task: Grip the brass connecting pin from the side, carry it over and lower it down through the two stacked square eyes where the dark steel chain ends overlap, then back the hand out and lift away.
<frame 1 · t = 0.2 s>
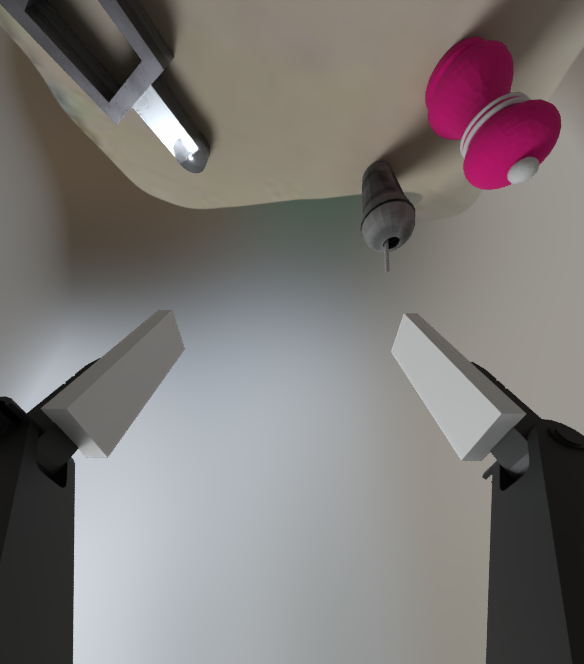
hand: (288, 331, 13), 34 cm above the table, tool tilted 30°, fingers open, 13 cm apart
pepper mill: (454, 79, 26), on the table
beverage cup: (376, 176, 36), on the table
chain end b: (103, 26, 23), on the table
chain end a: (103, 26, 23), on the table
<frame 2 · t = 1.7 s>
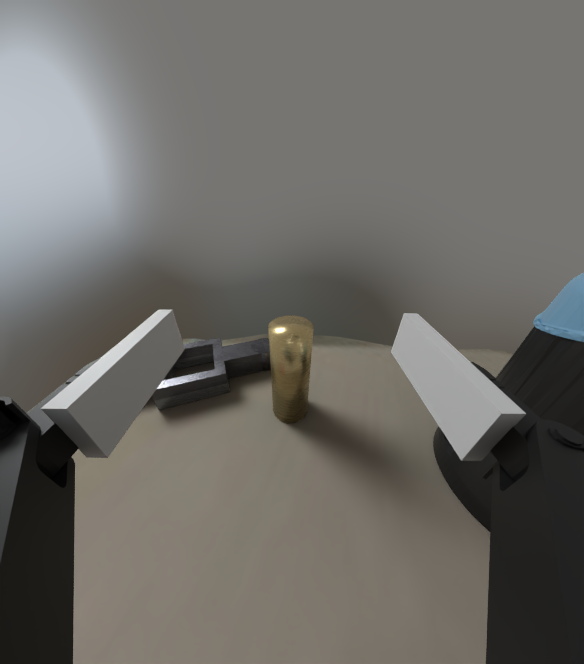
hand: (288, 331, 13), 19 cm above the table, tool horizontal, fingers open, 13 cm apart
chain end b: (196, 378, 36), on the table
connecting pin: (290, 407, 31), on the table
chain end a: (196, 378, 36), on the table
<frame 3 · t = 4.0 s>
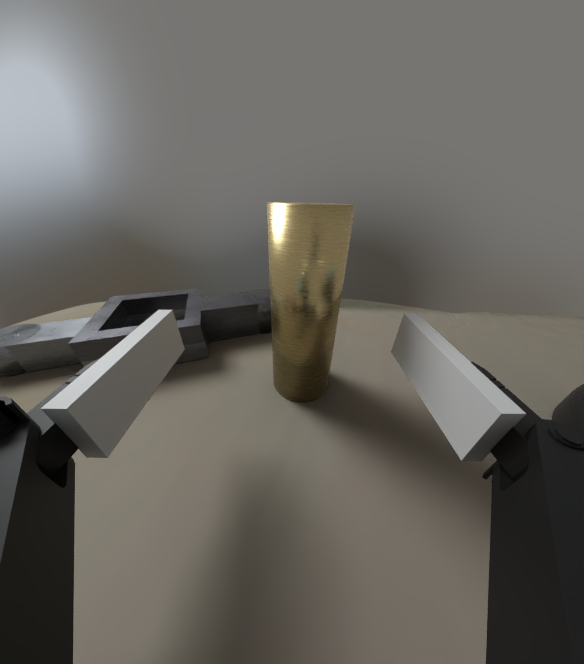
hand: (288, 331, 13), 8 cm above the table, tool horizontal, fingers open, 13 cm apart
chain end b: (162, 340, 25), on the table
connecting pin: (300, 379, 20), on the table
chain end a: (162, 340, 25), on the table
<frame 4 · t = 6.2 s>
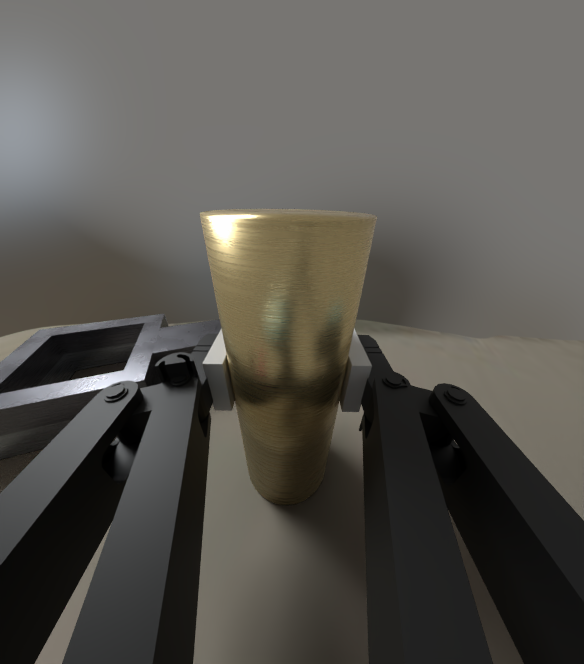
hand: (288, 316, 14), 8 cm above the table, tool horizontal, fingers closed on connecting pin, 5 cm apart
chain end b: (107, 387, 19), on the table
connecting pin: (286, 458, 14), on the table, touching gripper
chain end a: (107, 387, 19), on the table
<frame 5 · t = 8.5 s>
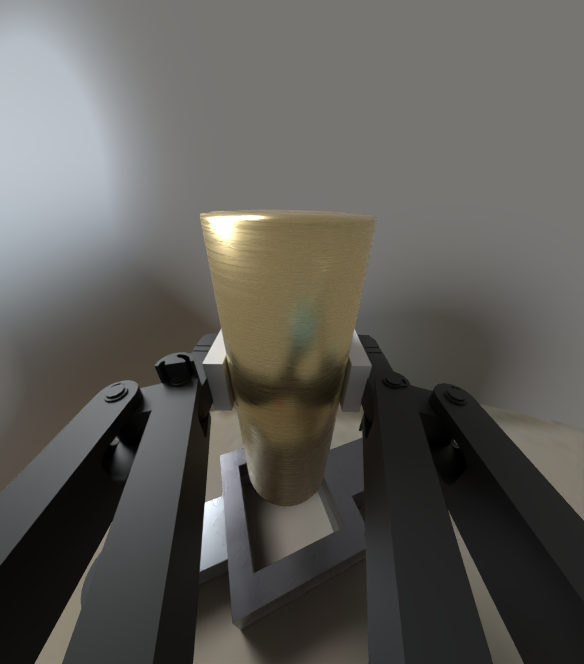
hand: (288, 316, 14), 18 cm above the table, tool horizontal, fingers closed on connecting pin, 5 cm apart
chain end b: (286, 512, 20), on the table
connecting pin: (287, 459, 14), point 10 cm above the table, touching gripper
chain end a: (286, 512, 20), on the table
when the fingers open (10 cm above the table, at t = 10.8 s): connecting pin drops 2 cm, resting in chain end a.
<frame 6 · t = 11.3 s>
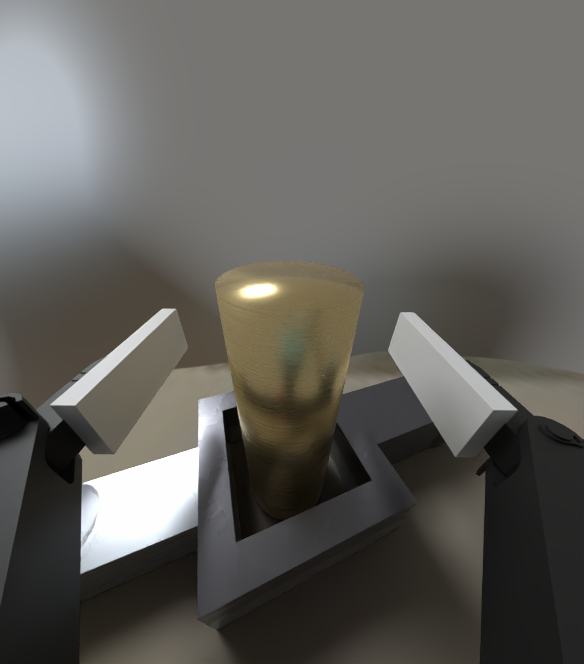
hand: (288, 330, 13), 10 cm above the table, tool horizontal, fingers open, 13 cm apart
chain end b: (286, 473, 15), on the table
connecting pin: (287, 474, 15), resting in chain end a
chain end a: (286, 473, 15), on the table
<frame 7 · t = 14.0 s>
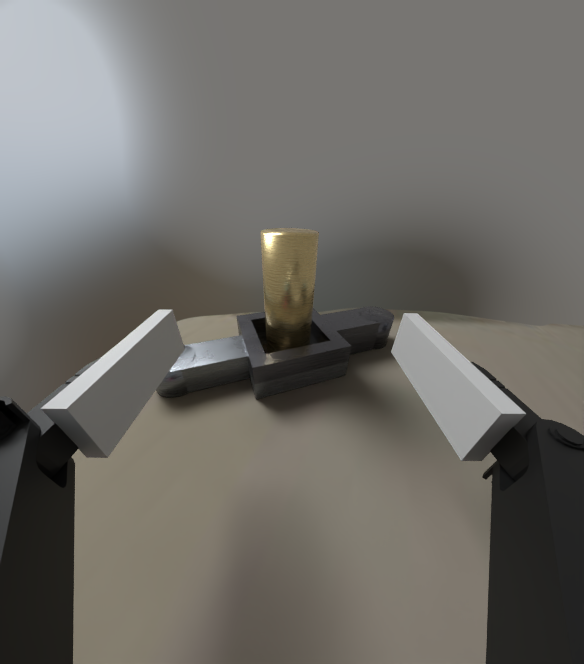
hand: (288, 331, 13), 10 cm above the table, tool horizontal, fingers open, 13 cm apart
chain end b: (287, 357, 26), on the table
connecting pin: (288, 357, 26), resting in chain end a
chain end a: (287, 357, 26), on the table
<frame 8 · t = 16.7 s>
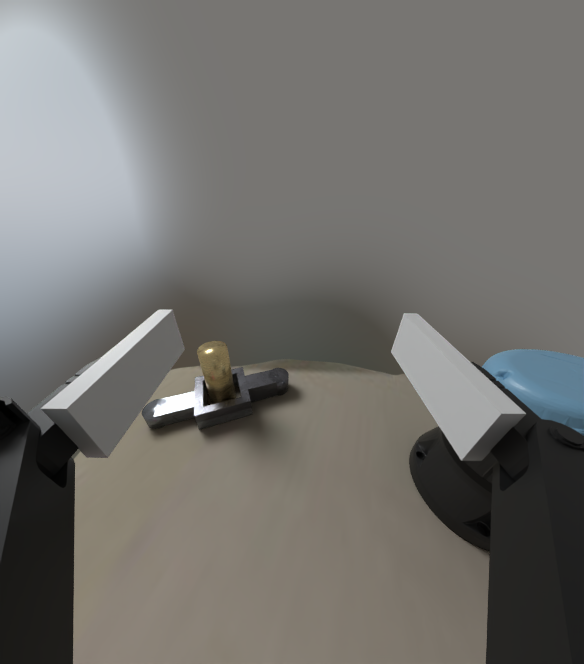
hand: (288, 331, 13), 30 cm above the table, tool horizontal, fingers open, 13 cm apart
chain end b: (224, 401, 45), on the table
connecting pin: (224, 402, 45), resting in chain end a
chain end a: (224, 401, 45), on the table
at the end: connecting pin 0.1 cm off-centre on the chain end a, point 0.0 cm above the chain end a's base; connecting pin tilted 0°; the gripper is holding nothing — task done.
